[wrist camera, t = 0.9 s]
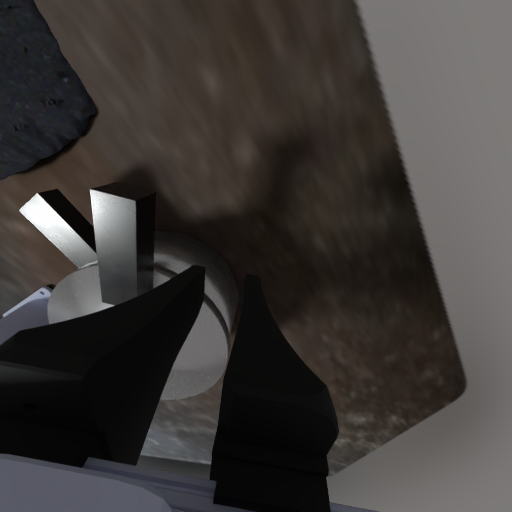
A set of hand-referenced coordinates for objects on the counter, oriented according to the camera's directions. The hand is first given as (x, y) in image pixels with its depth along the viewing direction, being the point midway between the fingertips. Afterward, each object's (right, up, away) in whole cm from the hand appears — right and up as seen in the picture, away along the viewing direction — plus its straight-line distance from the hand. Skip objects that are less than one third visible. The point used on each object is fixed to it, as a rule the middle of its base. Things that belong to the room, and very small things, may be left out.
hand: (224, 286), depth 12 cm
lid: (-7, -3, +7) cm, 10 cm away
